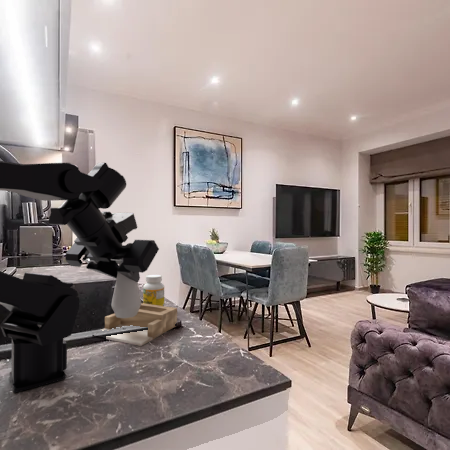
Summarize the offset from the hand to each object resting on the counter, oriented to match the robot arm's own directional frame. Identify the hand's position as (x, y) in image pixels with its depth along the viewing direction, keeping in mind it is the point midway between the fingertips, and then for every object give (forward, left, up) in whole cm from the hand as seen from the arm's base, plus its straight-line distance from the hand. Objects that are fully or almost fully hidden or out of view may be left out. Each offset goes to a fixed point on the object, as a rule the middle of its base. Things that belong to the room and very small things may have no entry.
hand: (130, 279), depth 65 cm
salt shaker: (-1, -1, -7) cm, 7 cm away
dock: (+2, +1, -11) cm, 12 cm away
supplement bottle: (+11, +11, -12) cm, 20 cm away
